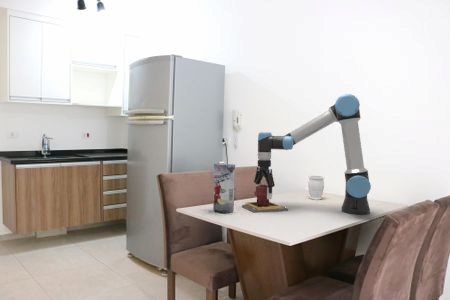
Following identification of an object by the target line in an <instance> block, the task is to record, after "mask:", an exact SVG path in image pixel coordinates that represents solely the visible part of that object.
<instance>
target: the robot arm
mask: <svg viewBox="0 0 450 300" xmlns="http://www.w3.org/2000/svg"><path fill="white" fill-rule="evenodd" d="M360 106H361V105H360V100H359V99H358V98H357V96H355V95H354V94H351V93H344V94H342V95H340V96H339V97H337V99H336V101H335V103H334V104H333V105H332V106H329V108H328V110H327V111H324V112H323V113H321V114H320V115H318V116H316V117H314V118H313V119H311V120H309V121H307V122H306V123H304V124H301V126H299V127H297V128H295V129H294V130H292V131H291V132H289V133H287V134H284V135H272V132H269V131H267V132H265V131H264V132H263V131H261V132H259V133H258V135H257V136H258V137H257V154H256V155H257V159H258V160H257V167H256V171H255V175H254V180H253V182H254V183H255V187H256V186H260V185H262V180H263V178H265V182H266V185H267V199H269V200H272V199H273V187H275V186H276V185H275V181H274V177H273V176H274V175H273V168H270V167H271V166H272V160H271V159H272V150H280V151H281V150H283V151H285V150H286V151H288V150H290V151H291V150H293V149H294V146H295V145H297V144H298V143H300V142H301V141H303V140H305V139H307V138H309V137H311V136H313V135H314V134H316V133H318V132H319V131H320V132H321V130H323V129H325V128H327V127H329V126H330V125H333V123H339V124H340V126H341V127H340V128H341V136H342V141H343V150H344V156H345V164H346V170H345V171H344V179H345V189H344V190H345V193H344V200H343V202H342V205H341V208H340V211H342V212H343V213H346V214H353V215H369V214H370V213H371V208H370V206H369V205H370V204H369V201H368V194H369V193H370V191H371V187H372V184H371V182H370V178H369V177H370V176H369V170H368V169H367V168H365V164H364V156H363V150H362V149H363V148H362V141H361V135H360V134H361V133H360V128H359V122H360V120H361V112H360Z"/></svg>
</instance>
